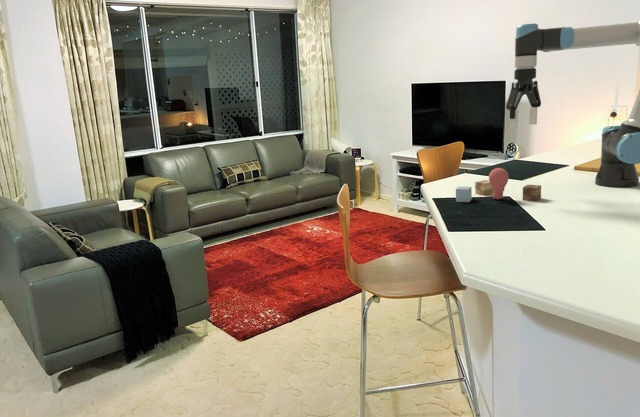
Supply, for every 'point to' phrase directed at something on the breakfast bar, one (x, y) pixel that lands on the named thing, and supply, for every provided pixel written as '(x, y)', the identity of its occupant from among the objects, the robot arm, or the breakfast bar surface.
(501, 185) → the light bulb
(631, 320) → the breakfast bar surface
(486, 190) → the oak block
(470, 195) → the slate-blue painted block
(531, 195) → the walnut block
